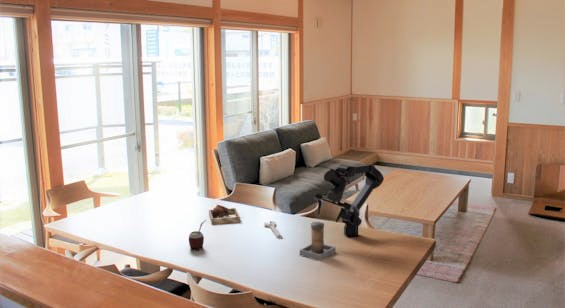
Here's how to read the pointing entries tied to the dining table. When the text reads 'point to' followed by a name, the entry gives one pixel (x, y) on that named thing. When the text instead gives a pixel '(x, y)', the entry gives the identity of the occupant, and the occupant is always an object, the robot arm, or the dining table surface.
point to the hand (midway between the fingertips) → (327, 218)
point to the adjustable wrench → (273, 229)
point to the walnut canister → (317, 237)
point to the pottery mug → (221, 211)
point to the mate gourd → (196, 239)
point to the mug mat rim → (226, 219)
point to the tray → (308, 252)
